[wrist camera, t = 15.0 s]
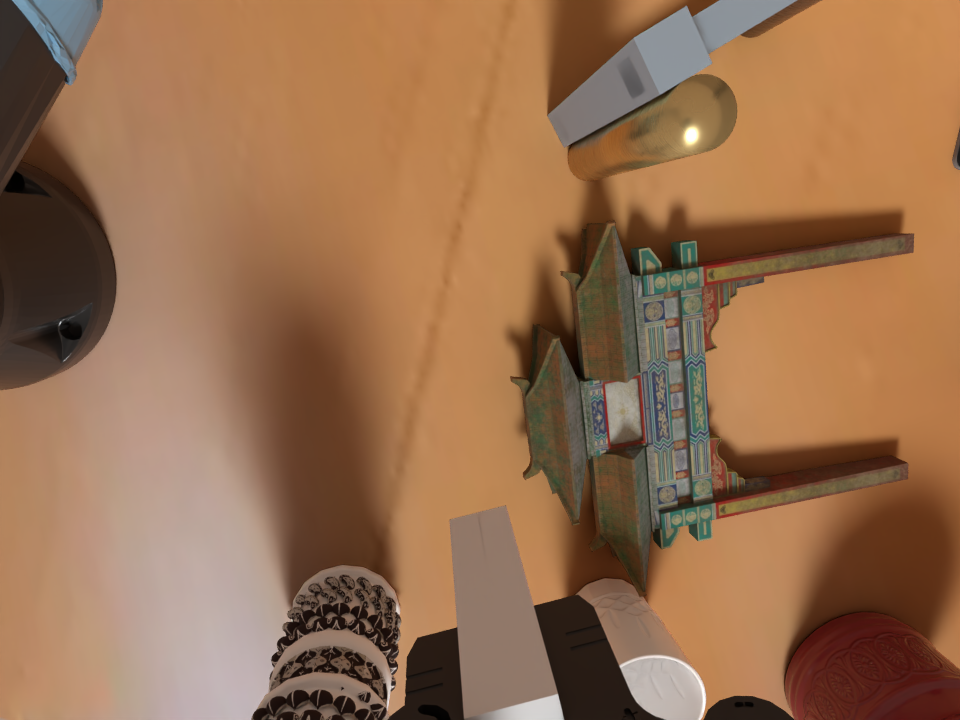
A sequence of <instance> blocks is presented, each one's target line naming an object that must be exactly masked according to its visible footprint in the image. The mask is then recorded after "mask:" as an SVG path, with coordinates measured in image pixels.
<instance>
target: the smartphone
mask: <svg viewBox="0 0 960 720" xmlns="http://www.w3.org/2000/svg"><path fill="white" fill-rule="evenodd" d="M952 161H953V165H954V167H955V168H956V169H958V170H960V129H959V133H958V137H957V142H956V146H955V150H954V154H953V159H952Z"/></svg>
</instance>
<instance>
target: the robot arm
mask: <svg viewBox="0 0 960 720" xmlns="http://www.w3.org/2000/svg"><path fill="white" fill-rule="evenodd" d="M102 7H103V0H0V390H6V389H13V388H19V387H24V386H27V385H31V384H34V383H37V382H39V381H42V380H44V379H47V378H49V377H52V376H54V375H57V374H59V373H61V372H63V371H65V370H67V369H69V368H71V367H72V366H74V365H75V364H77V363H78V362H79V361H80V360H82V359H83V358H84V357H85V356H86V355H87V354H88V353H89V352H90V351H91V350H92V349H93V348H94V347H95V345H96V344H97V343H98V342H99V340H100V339H101V337H102V335H103V334H104V332H105V330H106V328H107V326H108V323H109V321H110V318H111V315H112V312H113V308H114V302H115V295H116V277H115V268H114V263H113V259H112V255H111V252H110V249H109V246H108V243H107V241H106V238H105V236H104V234H103V232H102V230H101V228H100V227H99V225H98V223H97V221H96V220H95V218H94V217H93V215H92V214H91V213H90V211H89V210H88V209H87V208H86V206H85V205H84V204H83V203H82V202H81V201H80V200H79V198H77V197H76V196H75V195H74V194H73V193H72V192H71V191H70V190H69V189H68V188H67V187H65V186H64V185H63V184H62V183H60V182H59V181H58V180H56V179H55V178H53V177H52V176H50V175H49V174H47V173H45V172H43V171H42V170H40V169H38V168H36V167H34V166H32V165H29V164H27V163H24V162H22V161H21V159H22V158H23V156H24V154H25V152H26V151H27V149H28V147H29V145H30V144H31V142H32V140H33V139H34V137H35V135H36V133H37V132H38V130H39V128H40V126H41V125H42V123H43V121H44V120H45V118H46V116H47V114H48V113H49V111H50V109H51V107H52V106H53V104H54V102H55V101H56V99H57V97H58V95H59V94H60V92H61V90H62V88H63V87H64V85H65V83H66V84H68V85H72V84H73V82H74V81H75V79H76V76H77V72H76V67H75V66H76V64H77V62H78V60H79V58H80V56H81V54H82V52H83V50H84V48H85V47H86V45H87V43H88V41H89V39H90V37H91V35H92V33H93V31H94V29H95V27H96V25H97V23H98V21H99V19H100V16H101V12H102ZM450 533H451V546H452V560H453V574H454V588H455V601H456V615H457V628H453V629H450V630H446V631H442V632H438V633H434V634H430V635H426V636H423V637H419V638H417V640H416V641H415V643H414V645H413V647H412V649H411V651H410V653H409V654H408V656H407V668H406V678H407V680H406V689H405V693H406V697H405V706H403V707H402V708H400V709H399V710H398V711H396V712H395V713H394V714H393V715H391V716H390V717H389V719H388V720H665V719H662V718H659V717H656V716H654V715H652V714H651V713H649V712H647V711H645V710H644V709H643V708H642V707H641V706H640V705H639V704H638V703H637V702H636V700H635V699H634V697H633V696H632V694H631V692H630V689H629V687H628V685H627V683H626V680H625V678H624V676H623V673H622V671H621V669H620V666H619V664H618V662H617V659H616V657H615V655H614V652H613V650H612V648H611V645H610V643H609V641H608V639H607V636H606V634H605V632H604V629H603V627H602V625H601V622H600V620H599V618H598V615H597V613H596V611H595V608H594V606H592V605H591V604H590V603H588V602H587V601H586V600H585V599H583V598H582V597H581V596H579V595H574V596H570V597H566V598H562V599H558V600H554V601H551V602H547V603H543V604H539V605H535V606H534V605H533V602H532V598H531V594H530V591H529V587H528V584H527V580H526V576H525V573H524V569H523V565H522V562H521V558H520V555H519V551H518V547H517V544H516V540H515V536H514V533H513V529H512V526H511V522H510V518H509V515H508V511H507V507H506V505H505V506H501V507H498V508H494V509H490V510H486V511H482V512H478V513H474V514H470V515H466V516H462V517H458V518H454V519H450ZM704 720H794V719H793V718H792V717H791V716H790V715H789V714H788V713H786V712H785V711H784V710H782V709H781V708H779V707H778V706H776V705H775V704H773V703H771V702H770V701H767V700H763V699H760V698H757V697H753V696H733V697H730V698H726V699H723V700H720V701H718V702H717V703H716V704H715V705H713V706H712V707H711V708H710V709H708V711H707V714H706V716H705V718H704Z"/></svg>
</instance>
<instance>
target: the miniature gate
mask: <svg viewBox="0 0 960 720" xmlns="http://www.w3.org/2000/svg"><path fill="white" fill-rule="evenodd" d="M913 250H914V234H889V235H882V236H875V237H868V238H861V239H854V240H847V241H840V242H834V243H827V244H820V245H813V246H806V247H799V248H793V249H786V250H780V251H773V252H767V253H760V254H754V255H748V256H741V257H735V258H728V259H722V260H715V261H709V262H702V263H698V260H697V241H691V240H685V241H679V242H672V243H671V254H672V267H670V268H664V269H662V264H661V262H660V261H659V259H658V258H657V257H656V255H655V254H654V253H653V251H652V250H651V249H650V248H646V247H639V248H632V249H631V260H632V272H633V273H632V274H630V272H629V269H628V266H627V263H626V259H625V256H624V253H623V250H622V247H621V244H620V241H619V238H618V235H617V231H616V228H615V221H614V220H612V221H607V223H599V224H587V227H586V229H582V234H581V261H580V266H579V272H578V274H576V273H571V272H564V271H560V272H561V276H563V277H565V278H566V279H567V280H568V281H569V282H570V284H571V286H572V297H573V307H574V317H575V326H576V336H577V346H578V356H579V366H580V376H581V377H577V376H576V375H575V372H574V370H573V368H572V366H571V364H570V362H569V359H568V357H567V355H566V353H565V351H564V348H563V346H562V344H561V342H560V336H559V335H557V336H555V335H554V334H552V333H551V332H549V331H547V330H546V329H544V328H542V327H541V326H540V324H537V325H533V348H532V363H531V368H530V373H529V378H528V380H526V379H525V378H521V377H512V376H510V378H511V381H512V382H513V383H515V384H517V385H518V386H519V387H520V388H521V390H522V396H523V404H524V412H525V420H526V428H527V436H528V444H529V452H530V456H531V458H530V464H529V466H528V468H527V469H526V470H525V471H524V472H523V477H524V479H525V480H526V479H528V478H530V477H532V476H534V475H536V474H538V473H539V471H540V470H541V469H542V470H543V472H544V473H545V475H546V477H547V479H548V482H549V484H550V487H551V490H552V494H554V493H557V494H558V496H559V498H560V500H561V502H562V504H563V506H564V508H565V510H566V512H567V514H568V516H569V518H570V520H571V522H572V525H577V524H580V522H579V514H580V506H581V499H582V491H583V483H584V475H585V467H586V460H587V459H589V465H590V474H591V484H592V494H593V504H594V514H595V524H596V528H597V532H596V536H595V538H594V539H593V541H592V542H591V543H590V544H589V548H590V549H591V551H592V552H593V551H595V550H597V549H599V548H601V547H603V546H604V545H605V544H606V542H608V543H609V545H610V548H611V552H612V555H613V557H615V556H617V557H618V560H619V561H620V563H621V564H622V565H623V567H624V568H625V570H626V571H627V573H628V575H629V577H630V579H631V581H632V583H633V585H634V587H635V589H636V591H637V593H638V595H639V597H642V596H646V592H645V589H646V578H647V568H648V558H649V548H650V538H651V531H652V532H653V540H654V541H655V542H656V543H657V545H658V546H659V547H660V548H661V549H665V548H670V547H671V546H672V545H673V543H674V541H675V539H676V537H677V535H678V534H679V532H680V530H679V527H681V526H686V525H689V533H690V534H691V535H692V536H693V537H694V538H695V539H696V540H697V541H703V540H707V539H712V538H713V536H712V520H715V519H720V518H724V517H729V516H734V515H739V514H743V513H748V512H753V511H758V510H762V509H767V508H772V507H777V506H781V505H786V504H791V503H796V502H800V501H805V500H810V499H815V498H820V497H824V496H829V495H834V494H839V493H843V492H848V491H853V490H858V489H862V488H867V487H872V486H877V485H881V484H886V483H891V482H896V481H900V480H905V479H908V463H907V462H905V461H902V460H900V459H898V458H896V457H893V456H886V457H880V458H874V459H868V460H862V461H856V462H850V463H844V464H838V465H832V466H825V467H819V468H813V469H807V470H801V471H796V472H791V473H786V474H781V475H776V476H771V477H766V478H765V477H764V476H761V477H755V478H748V479H744V478H742V477H741V476H739V475H738V474H737V472H735V471H734V470H732V469H731V468H727V467H726V463H725V462H724V461H723V460H722V459H721V458H720V457H719V456H718V453H717V447H718V445H719V443H720V441H721V440H722V439H721V438H720V437H718V436H716V435H709V419H708V400H707V382H706V363H705V352H708V351H711V350H713V349H716V348H717V346H716V345H715V344H714V343H713V341H712V338H711V333H712V330H713V328H714V327H715V325H716V324H717V322H718V320H719V313H720V309H721V308H724V307H727V306H729V305H730V299H731V298H733V297H735V296H736V295H737V288H740V287H744V286H749V285H754V284H759V283H763V282H764V276H770V275H776V274H782V273H789V272H795V271H801V270H807V269H814V268H820V267H826V266H832V265H839V264H845V263H851V262H857V261H863V260H870V259H876V258H882V257H888V256H895V255H901V254H907V253H913Z"/></svg>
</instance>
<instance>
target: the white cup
mask: <svg viewBox="0 0 960 720" xmlns="http://www.w3.org/2000/svg"><path fill="white" fill-rule="evenodd" d="M576 595H579V596H581V597H582V598H583V599H585V600H586V601H587V602H588V603H590V604H591V605H592V606H594V608H595V611H596V613H597V615H598V618H599V620H600V622H601V625H602V627H603V629H604V632H605V634H606V636H607V639H608V641H609V643H610V645H611V648H612V650H613V652H614V655H615V657H616V659H617V662H618V664H619V666H620V669H621V671H622V673H623V676H624V678H625V680H626V683H627V685H628V687H629V689H630V692H631V694H632V696H633V697H634V699H635V700H636V702H637V703H638V704H639V705H640V706H641V707H642V708H643V709H644V710H645V711H647V712H649V713H651V714H652V715H654V716H656V717H659V718H662V719H665V720H701V718H702V716H703V713H704V710H705V705H706V692H705V687H704V684H703V681H702V679H701V677H700V676H699V674H698V673H697V671H696V670H695V668H694V667H693V665H692V664H691V663H690V661H689V660H688V658H687V657H686V655H685V654H684V652H683V651H682V649H681V648H680V646H679V645H678V643H677V642H676V640H675V639H674V637H673V636H672V634H671V633H670V631H669V630H668V629H667V628H666V626H665V624H664V623H663V622H662V620H661V619H660V618H659V616H658V615H657V613H656V612H655V611H654V610H653V609H652V608H651V607H650V606H649V604H648V603H647V602H646V600H645V599H644V597H643V596H642V597H639V595H638V593H637V591H636V589H635V587H634V586H633V585H631V584H629V583H628V582H626V581H624V580H622V579H608V578H603V579H601V580H598V581H595V582H592V583H589V584H587V585H585V586H584V587H583V588H582V589H581V590H580V591H579V592H578V593H577V594H576Z"/></svg>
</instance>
